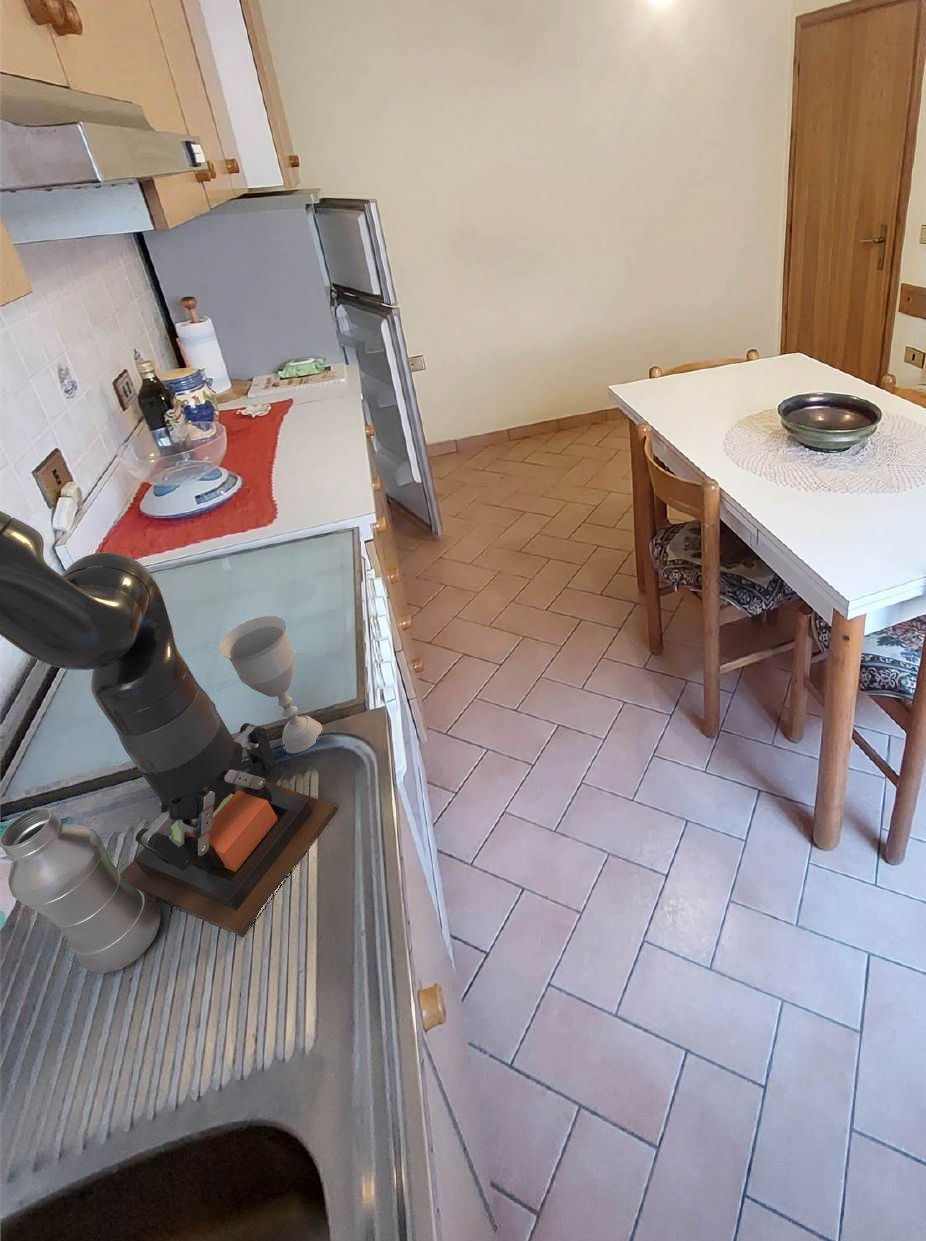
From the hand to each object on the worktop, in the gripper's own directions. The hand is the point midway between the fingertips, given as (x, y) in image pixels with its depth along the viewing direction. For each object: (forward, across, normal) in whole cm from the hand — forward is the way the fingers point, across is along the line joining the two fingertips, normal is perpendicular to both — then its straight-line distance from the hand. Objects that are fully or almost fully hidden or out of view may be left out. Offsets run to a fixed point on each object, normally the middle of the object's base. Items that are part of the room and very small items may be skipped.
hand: (240, 836), depth 73 cm
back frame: (+3, 0, -3) cm, 4 cm away
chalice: (+3, -14, -6) cm, 15 cm away
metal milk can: (+3, +11, -5) cm, 12 cm away
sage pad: (+2, 0, -5) cm, 5 cm away
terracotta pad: (+1, 0, 0) cm, 1 cm away
